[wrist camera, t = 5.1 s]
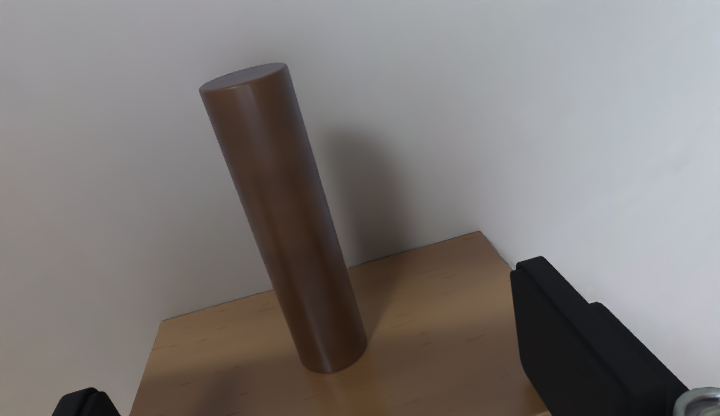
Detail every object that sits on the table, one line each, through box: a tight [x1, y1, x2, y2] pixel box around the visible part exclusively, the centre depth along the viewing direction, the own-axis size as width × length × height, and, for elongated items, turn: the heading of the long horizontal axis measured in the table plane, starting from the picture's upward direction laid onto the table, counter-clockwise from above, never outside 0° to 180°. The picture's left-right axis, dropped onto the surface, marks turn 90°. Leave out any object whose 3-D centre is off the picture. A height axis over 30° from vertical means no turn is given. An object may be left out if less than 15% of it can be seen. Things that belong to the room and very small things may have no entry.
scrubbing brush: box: [129, 63, 552, 416], centre depth 14 cm, size 12×12×8 cm
